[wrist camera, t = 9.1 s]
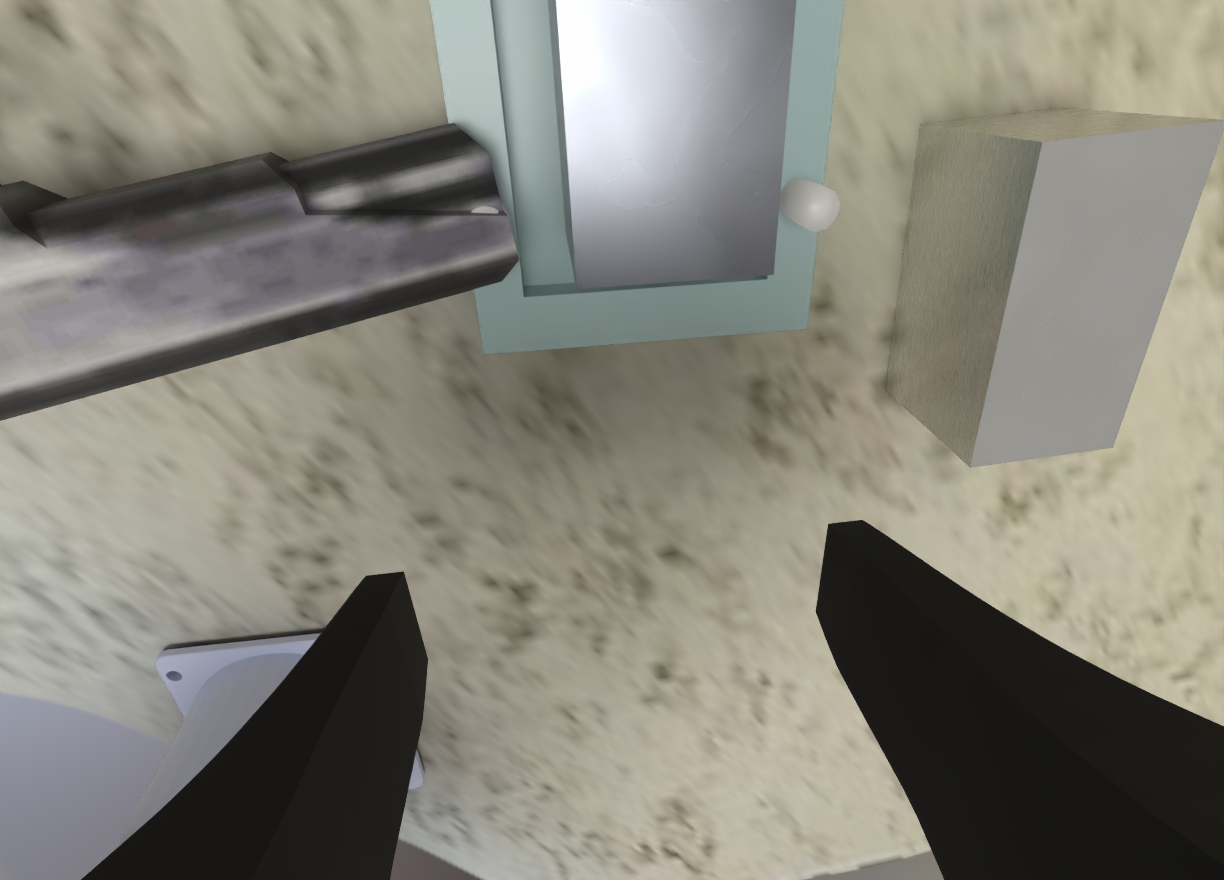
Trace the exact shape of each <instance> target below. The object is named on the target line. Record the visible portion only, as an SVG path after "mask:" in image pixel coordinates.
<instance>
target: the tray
mask: <svg viewBox="0 0 1224 880" xmlns="http://www.w3.org/2000/svg"><path fill="white" fill-rule="evenodd" d="M844 1H845V0H797V1H796V13H795V25H794V37H793V49H792V61H791V73H790V85H789V97H788V109H787V121H786V133H785V145H784V157H783V169H782V181H781V193H780V205H779V217H778V229H777V241H776V253H775V265H774V275H764V276H751V277H737V278H723V279H710V280H696V281H682V282H669V283H655V284H641V285H628V286H614V287H600V288H587V289H576V284H575V279H574V273H573V268H572V263H571V258H570V253H569V248H568V243H567V238H566V231H565V218H564V205H563V192H562V178H561V165H560V152H559V139H558V126H557V113H556V100H555V87H554V74H553V61H552V48H551V35H550V22H549V9H548V0H430V7H431V13H432V20H433V26H434V33H435V40H436V46H437V53H438V59H439V66H440V72H441V79H442V85H443V92H444V99H445V105H446V112H447V118H448V124H452V123H454V124H456V125H457V126H458V127H459V128H460V129H462V130H463V131H464V132H465V133H466V134H468V135H469V136H470V137H471V138H473V139H474V140H475V141H476V142H477V143H479V144H480V145H481V146H482V147H483V148H485V149H486V150H487V151H488V153H489V157H490V161H491V164H492V168H493V172H494V176H495V180H496V183H497V187H498V191H499V195H500V199H501V202H502V206H503V210H504V212H505V213H506V214H507V215H508V218H509V222H510V226H511V229H512V233H513V237H514V241H515V245H516V249H517V252H518V256H519V261H518V262H517V263H516V265H515V266H514V267H513V268H512V270H511V271H510V272H509V273H508V275H507V276H506V277H505V278H504V280H503V281H502V282H498V283H495V284H491V285H488V286H484V287H480V288H477V289H474V295H475V302H476V308H477V315H478V321H479V328H480V334H481V341H482V348H483V354H484V355H487V354H500V353H512V352H525V351H537V350H550V349H563V348H575V347H588V346H600V345H613V344H625V343H638V342H651V341H663V340H676V339H688V338H701V337H714V336H726V335H739V334H751V333H764V332H777V331H789V330H802V329H807V325H808V316H809V307H810V299H811V290H812V281H813V272H814V264H815V255H816V246H817V237H818V231H822V230H825V229H826V228H828V227H829V226H831V225H832V224H833V222H834V221H835V220H836V218H837V216H838V214H839V210H840V201H839V197H838V195H837V194H836V193H835V192H834V191H833V190H832V189H830V188H828V187H825V186H823V185H824V176H825V167H826V159H827V150H828V141H829V132H830V124H831V115H832V106H833V97H834V89H835V80H836V71H837V62H838V54H839V45H840V36H841V27H842V19H843V10H844ZM498 212H499V211H498V210H497V209H495V208H493V207H488V206H482V207H478V208H476V209H474V210H472V212H471V213H494V214H498Z"/></svg>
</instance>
